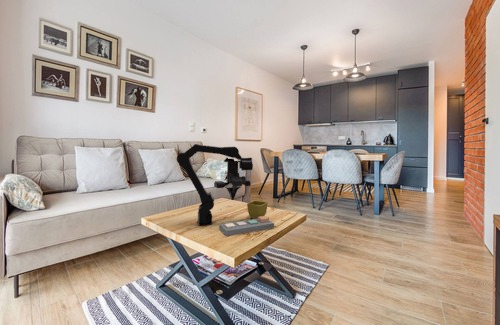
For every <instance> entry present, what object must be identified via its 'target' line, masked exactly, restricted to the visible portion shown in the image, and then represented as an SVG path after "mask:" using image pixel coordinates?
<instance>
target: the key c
mask: <svg viewBox="0 0 500 325" xmlns="http://www.w3.org/2000/svg"><path fill="white" fill-rule="evenodd" d="M248 220H249V221H247V223H248V224H250V225H253V224H258V222H257V221H255V220H251V219H248Z"/></svg>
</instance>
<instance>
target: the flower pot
mask: <svg viewBox="0 0 500 325" xmlns="http://www.w3.org/2000/svg"><path fill="white" fill-rule="evenodd" d="M246 206H247V207H246V208H247V213H248V215H249V218H251V219H258V217H261V216H266V213H267V211H268V202H267V201H260V200H252V201H250V202H247V203H246ZM251 219H250V220H251Z"/></svg>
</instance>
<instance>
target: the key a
mask: <svg viewBox="0 0 500 325" xmlns="http://www.w3.org/2000/svg"><path fill="white" fill-rule="evenodd" d="M227 223H228V224H224V226H225V227H226V228H234V227H235V225H234V224H233V223H230V222H227Z"/></svg>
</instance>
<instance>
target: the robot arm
mask: <svg viewBox="0 0 500 325" xmlns="http://www.w3.org/2000/svg"><path fill="white" fill-rule="evenodd" d="M197 153H205V154H207V153H208V154H214V155H222V156H224V157H225V159H224V160H223V163H226V164H227V168H226V177H227V178H226V182H225V181H223V180H217V181H214V183H213V187H214V188H216V189H224V188H225V189H226V190H227V192H228V195H229V197H230V199H231V201H234V200H235V197H236V194H237V192H238V191H239V189H241V188H242V186H245V187H251V181H250V180H248V179H247V178H246V176H244V175H242V176H240V172H239V169H240V170H241V171H253V166H254V165H253V157H242V155H241V154H240V152H239V149H238V147H236V146H221V147H220V146H213V145H202V144H199V143H194V144H193V145H192V147H190V148H188V149H187V150H186V151H185V152H181V153H178V154H177V157H176V162H177V163H178V164H179V166H181V167H180V168H182V170H184V171H185V172H186V174H187V176H188V177H189V178H188V179H190V181H191V183H192V184H193V187H194V188H195V190H196V192H197V194H198V195H199V199H200V202H201V204H200V205H199V206H198V211H197V221H196V222H197V224H198V226H207V225H208V226H209V225H213V214H212V211H211V210H213V208H214V206H215V197H214V196H213V195H212V193H211V191H210V192H208V191H207V189H205V187H204V185H203V183H202V182H201V179H200V178H199V175H198V174H197V172H196V171H195V169H194V166H193V164H192V160H191V158H192V157H193V156H194V155H196V154H197ZM228 157H229V158H228ZM235 159H236V160H235Z"/></svg>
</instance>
